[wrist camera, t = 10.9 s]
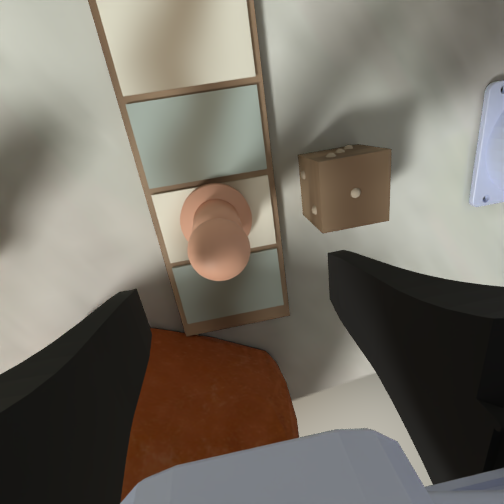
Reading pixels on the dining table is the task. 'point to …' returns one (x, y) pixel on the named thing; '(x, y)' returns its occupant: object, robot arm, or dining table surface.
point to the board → (198, 140)
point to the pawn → (217, 230)
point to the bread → (204, 404)
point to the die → (345, 186)
